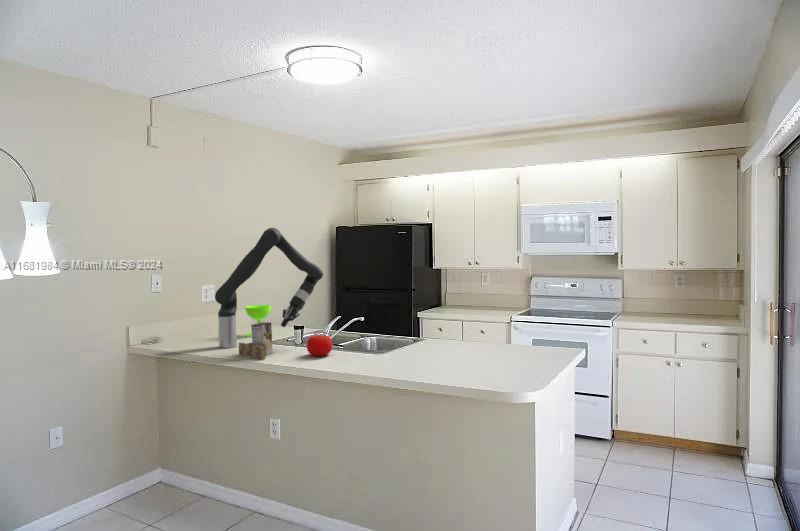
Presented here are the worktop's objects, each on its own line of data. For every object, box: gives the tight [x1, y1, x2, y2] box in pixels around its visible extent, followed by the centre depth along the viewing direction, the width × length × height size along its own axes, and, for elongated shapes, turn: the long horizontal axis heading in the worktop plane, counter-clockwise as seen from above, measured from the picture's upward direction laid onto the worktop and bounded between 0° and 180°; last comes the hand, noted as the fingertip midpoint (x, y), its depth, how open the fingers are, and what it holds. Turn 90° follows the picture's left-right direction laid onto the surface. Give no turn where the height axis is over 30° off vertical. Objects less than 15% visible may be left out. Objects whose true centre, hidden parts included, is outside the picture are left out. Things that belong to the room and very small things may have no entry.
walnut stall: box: [238, 342, 267, 360], centre depth 287 cm, size 22×5×6 cm, turn 47°
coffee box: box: [251, 321, 273, 356], centre depth 290 cm, size 9×6×16 cm
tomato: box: [306, 334, 334, 357], centre depth 285 cm, size 14×13×10 cm
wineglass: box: [244, 304, 272, 338], centre depth 353 cm, size 16×16×18 cm
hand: (282, 326), depth 300 cm, fingers closed
